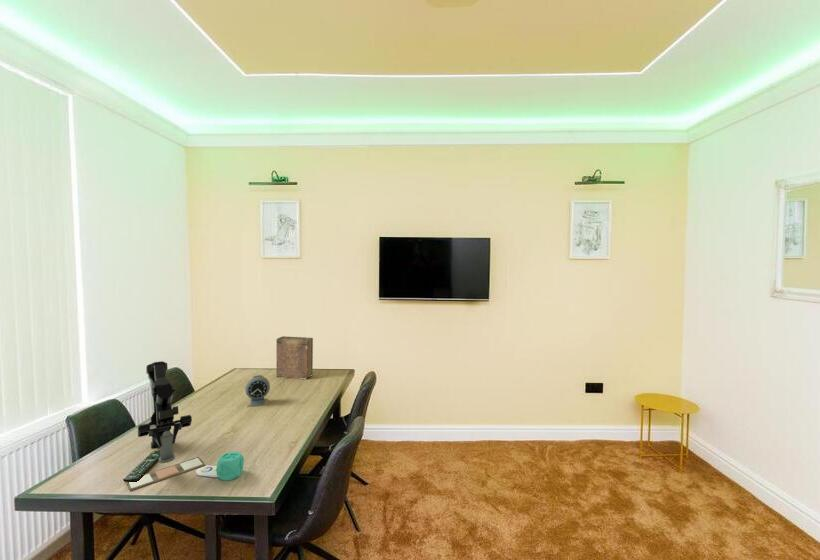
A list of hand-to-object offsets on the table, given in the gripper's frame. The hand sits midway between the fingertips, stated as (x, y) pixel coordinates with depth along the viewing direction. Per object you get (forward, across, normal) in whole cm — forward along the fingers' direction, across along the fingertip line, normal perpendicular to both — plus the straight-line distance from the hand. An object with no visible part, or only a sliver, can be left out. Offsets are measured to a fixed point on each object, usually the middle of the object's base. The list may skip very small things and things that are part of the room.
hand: (167, 445), depth 153 cm
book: (-60, +92, +79) cm, 135 cm away
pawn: (+4, 0, +6) cm, 7 cm away
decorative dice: (+20, +20, -2) cm, 29 cm away
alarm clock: (-33, +53, +51) cm, 81 cm away
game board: (+8, 0, +10) cm, 12 cm away
